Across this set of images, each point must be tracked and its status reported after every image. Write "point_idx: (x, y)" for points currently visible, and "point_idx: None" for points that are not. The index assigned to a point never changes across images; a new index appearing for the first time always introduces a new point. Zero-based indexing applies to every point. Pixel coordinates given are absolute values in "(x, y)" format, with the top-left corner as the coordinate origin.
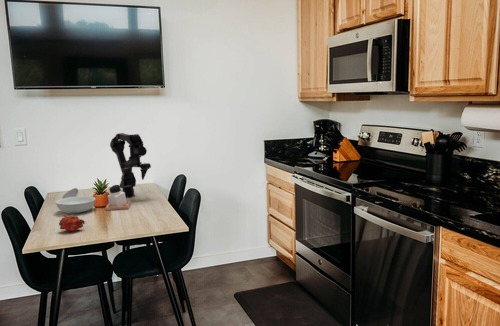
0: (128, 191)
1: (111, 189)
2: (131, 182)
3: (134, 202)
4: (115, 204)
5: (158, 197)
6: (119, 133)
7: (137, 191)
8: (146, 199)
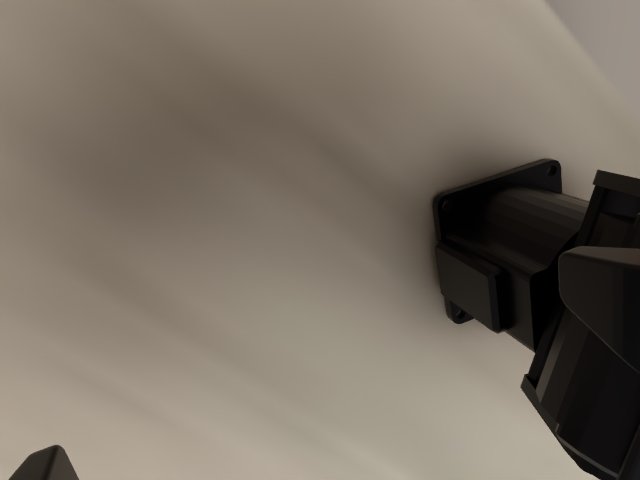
0: (513, 235)
1: None
2: (575, 337)
3: (91, 14)
4: None
5: None
6: None
7: None
8: (104, 277)
